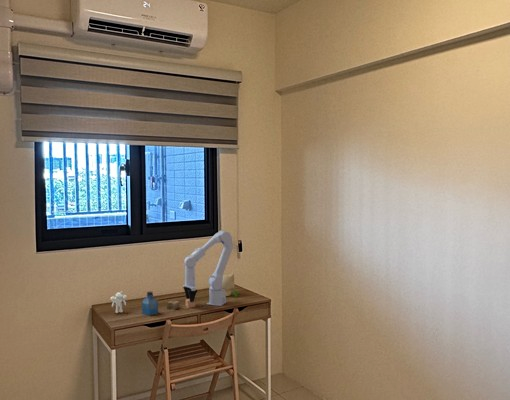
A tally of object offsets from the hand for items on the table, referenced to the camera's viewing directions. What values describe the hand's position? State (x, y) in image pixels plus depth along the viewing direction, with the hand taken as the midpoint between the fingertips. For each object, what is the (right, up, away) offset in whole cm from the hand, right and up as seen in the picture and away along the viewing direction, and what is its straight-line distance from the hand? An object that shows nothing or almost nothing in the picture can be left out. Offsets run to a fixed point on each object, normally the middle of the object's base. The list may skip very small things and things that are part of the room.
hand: (190, 300), depth 276 cm
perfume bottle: (-20, -5, -13) cm, 25 cm away
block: (0, -4, 0) cm, 4 cm away
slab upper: (-9, -2, -4) cm, 10 cm away
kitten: (+20, -2, +24) cm, 31 cm away
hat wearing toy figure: (-39, -5, -11) cm, 40 cm away
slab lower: (-9, -4, -4) cm, 11 cm away
